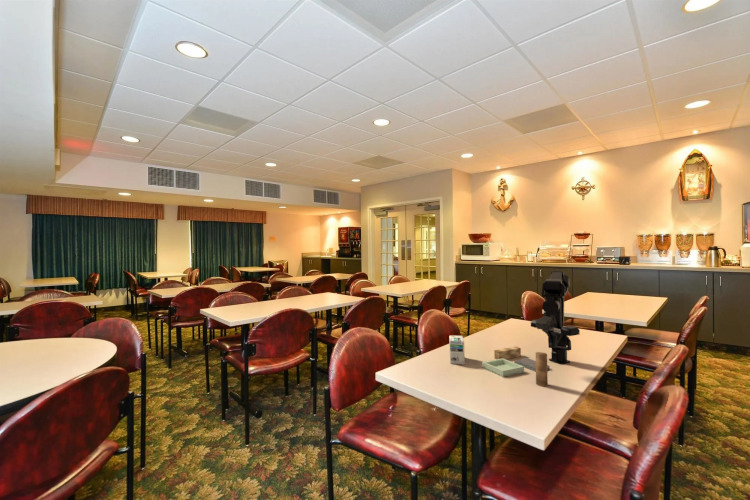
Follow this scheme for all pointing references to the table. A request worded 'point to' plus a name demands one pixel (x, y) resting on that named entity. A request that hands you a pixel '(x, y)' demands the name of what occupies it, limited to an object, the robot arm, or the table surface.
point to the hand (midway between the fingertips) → (554, 347)
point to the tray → (503, 367)
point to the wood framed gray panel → (528, 364)
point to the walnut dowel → (541, 369)
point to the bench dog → (507, 353)
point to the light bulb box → (456, 349)
